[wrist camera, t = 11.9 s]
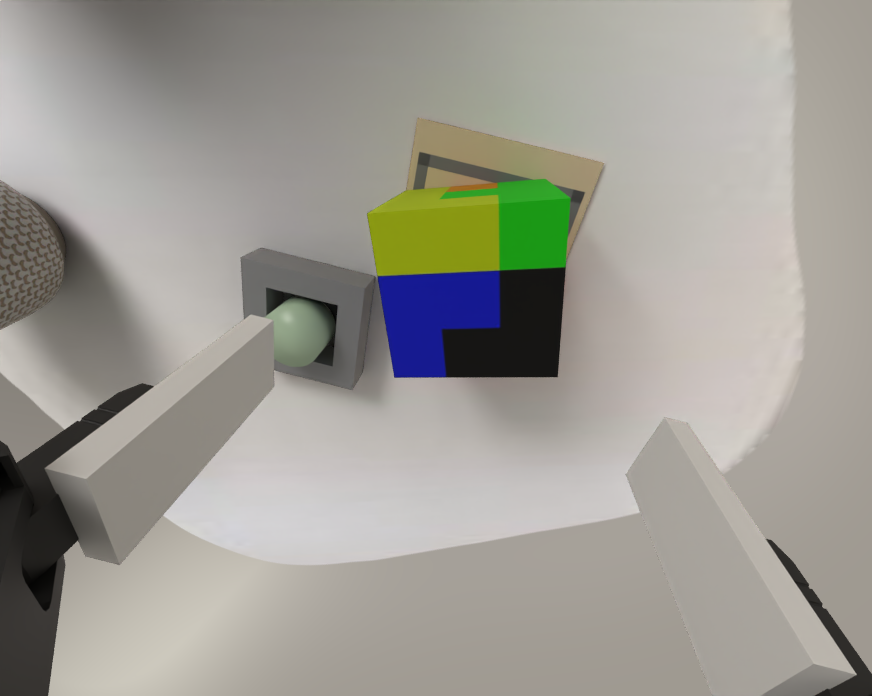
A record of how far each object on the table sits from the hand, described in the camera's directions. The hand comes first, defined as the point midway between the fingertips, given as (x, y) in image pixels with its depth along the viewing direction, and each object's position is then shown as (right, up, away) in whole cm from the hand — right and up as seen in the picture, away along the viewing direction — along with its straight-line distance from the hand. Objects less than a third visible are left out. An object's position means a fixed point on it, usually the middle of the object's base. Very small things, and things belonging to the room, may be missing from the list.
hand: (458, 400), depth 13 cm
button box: (-12, +5, +22) cm, 25 cm away
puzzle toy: (+2, +9, +17) cm, 20 cm away
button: (-12, +4, +20) cm, 24 cm away
